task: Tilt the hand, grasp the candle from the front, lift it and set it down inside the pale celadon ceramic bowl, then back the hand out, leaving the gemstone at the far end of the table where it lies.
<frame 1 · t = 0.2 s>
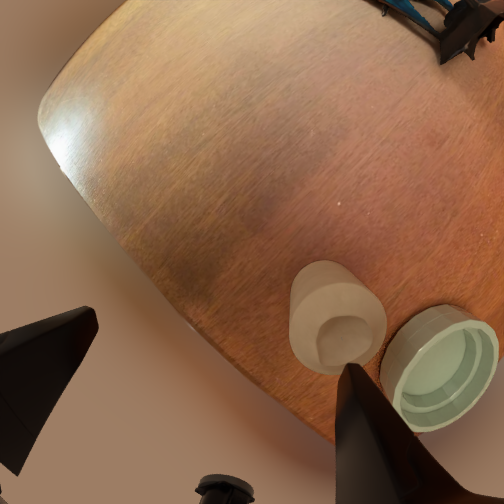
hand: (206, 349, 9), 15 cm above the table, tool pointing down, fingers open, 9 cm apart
bowl: (430, 357, 22), on the table
candle: (323, 291, 23), on the table
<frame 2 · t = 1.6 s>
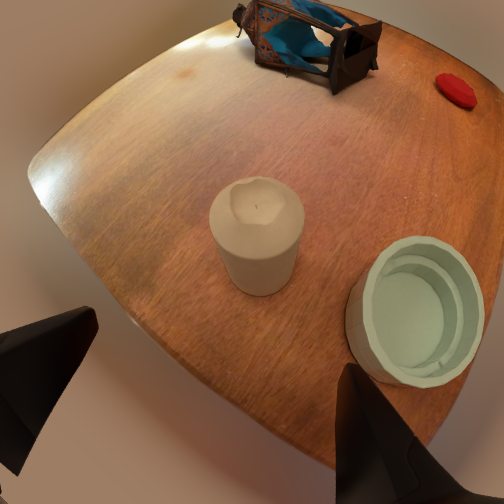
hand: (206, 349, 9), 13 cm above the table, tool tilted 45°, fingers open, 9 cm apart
bowl: (403, 320, 21), on the table
gemstone: (453, 96, 35), on the table
candle: (260, 266, 24), on the table
lantern: (296, 60, 37), on the table
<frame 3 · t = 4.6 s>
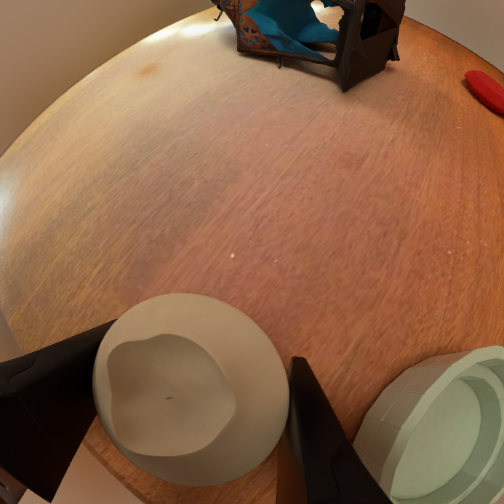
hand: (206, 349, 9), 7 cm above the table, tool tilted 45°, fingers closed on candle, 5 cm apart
bowl: (430, 440, 11), on the table
gemstone: (485, 98, 25), on the table
candle: (226, 379, 14), on the table, touching gripper
lantern: (292, 48, 28), on the table
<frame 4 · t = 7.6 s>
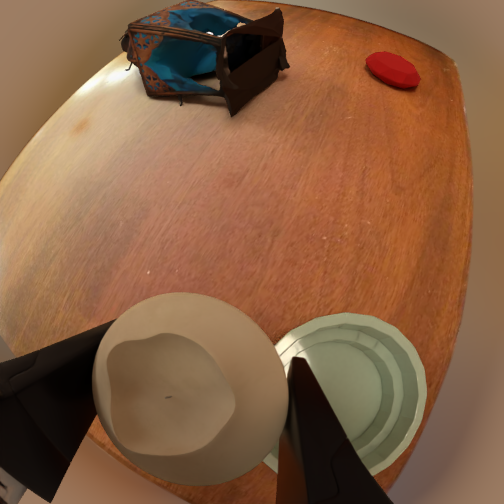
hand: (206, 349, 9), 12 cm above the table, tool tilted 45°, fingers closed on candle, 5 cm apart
bowl: (327, 397, 18), on the table
gemstone: (391, 77, 33), on the table
candle: (226, 379, 14), point 5 cm above the table, touching gripper
lantern: (195, 79, 34), on the table
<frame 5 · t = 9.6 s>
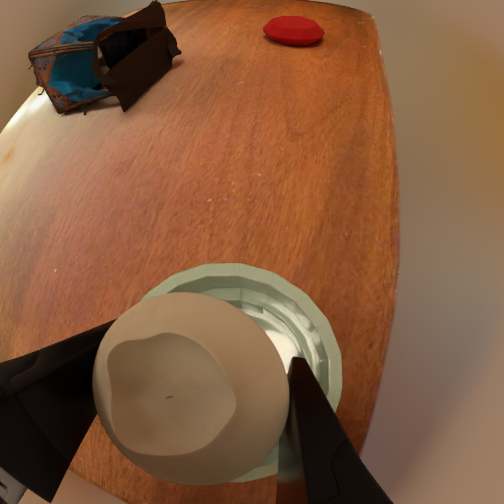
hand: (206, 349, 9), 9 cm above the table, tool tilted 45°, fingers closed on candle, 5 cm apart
bowl: (233, 373, 17), on the table
gemstone: (293, 38, 33), on the table
candle: (227, 379, 14), point 2 cm above the table, touching gripper
lantern: (100, 88, 31), on the table
when the fingers open (7 cm above the table, at t = 10.8 s): candle stays where it is, resting on bowl.
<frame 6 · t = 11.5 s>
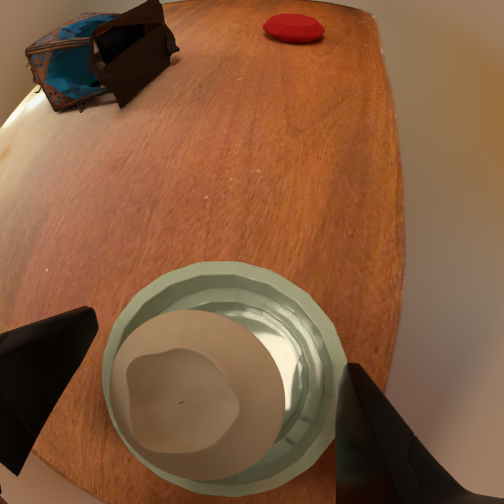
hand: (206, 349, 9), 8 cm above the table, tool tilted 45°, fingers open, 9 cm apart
bowl: (230, 379, 15), on the table
gemstone: (293, 36, 32), on the table
candle: (228, 382, 15), resting on bowl
lantern: (97, 86, 30), on the table
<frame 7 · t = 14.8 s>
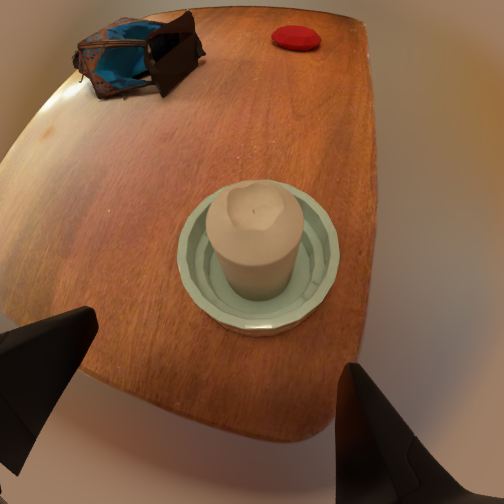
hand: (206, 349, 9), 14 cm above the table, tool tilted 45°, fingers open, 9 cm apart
bowl: (259, 270, 24), on the table
gemstone: (296, 44, 41), on the table
candle: (259, 270, 24), resting on bowl
lantern: (134, 80, 39), on the table
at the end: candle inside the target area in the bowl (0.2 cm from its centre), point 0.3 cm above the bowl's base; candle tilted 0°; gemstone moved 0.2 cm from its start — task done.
